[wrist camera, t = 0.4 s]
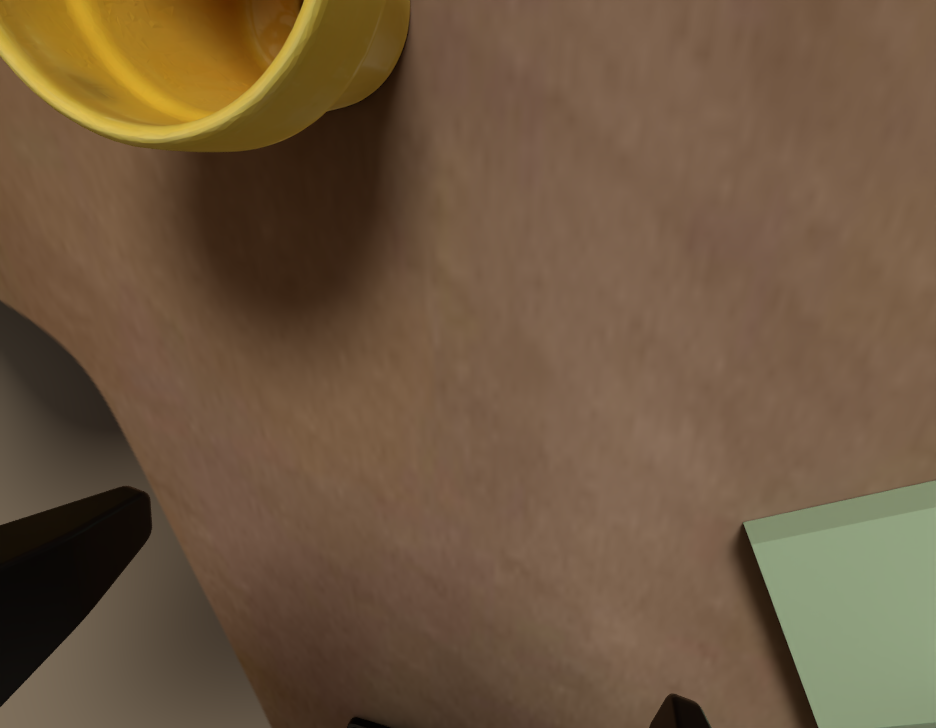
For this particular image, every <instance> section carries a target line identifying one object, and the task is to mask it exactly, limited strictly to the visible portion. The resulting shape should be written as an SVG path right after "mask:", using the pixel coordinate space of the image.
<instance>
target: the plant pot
mask: <svg viewBox="0 0 936 728" xmlns="http://www.w3.org/2000/svg"><path fill="white" fill-rule="evenodd" d="M409 18H410V0H0V57H1V58H2V59H3V60H4V61H5V62H6V64H7V65H8V66H9V67H10V68H11V69H12V70H13V72H14V73H15V74H16V75H17V76H18V77H19V78H20V79H21V80H22V81H23V82H24V83H25V84H26V85H27V86H28V87H29V88H30V89H31V90H32V91H33V92H34V93H36V94H37V95H38V96H39V97H40V98H41V99H43V100H44V101H45V102H46V103H47V104H49V105H50V106H51V107H52V108H54V109H55V110H56V111H58V112H59V113H61V114H62V115H64V116H65V117H67V118H69V119H70V120H72V121H74V122H75V123H77V124H79V125H80V126H82V127H84V128H86V129H88V130H90V131H92V132H94V133H96V134H98V135H100V136H103V137H105V138H108V139H111V140H113V141H116V142H120V143H123V144H127V145H131V146H136V147H143V148H151V149H160V150H171V151H189V152H235V151H247V150H252V149H258V148H262V147H266V146H269V145H272V144H275V143H278V142H281V141H283V140H285V139H288V138H290V137H292V136H294V135H295V134H297V133H299V132H301V131H302V130H304V129H305V128H307V127H308V126H309V125H311V124H312V123H314V122H315V121H316V120H318V119H319V118H320V117H321V116H322V115H323V114H324V113H326V112H327V111H330V110H335V109H339V108H343V107H346V106H349V105H352V104H355V103H357V102H359V101H361V100H363V99H364V98H366V97H367V96H369V95H370V94H372V93H373V92H374V91H376V90H377V89H378V88H379V87H380V86H381V85H382V84H383V83H384V81H385V80H386V79H387V78H388V76H389V75H390V74H391V72H392V70H393V68H394V67H395V65H396V63H397V61H398V59H399V57H400V55H401V52H402V49H403V47H404V43H405V40H406V37H407V32H408V26H409Z"/></svg>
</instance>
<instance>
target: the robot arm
mask: <svg viewBox="0 0 936 728" xmlns="http://www.w3.org/2000/svg"><path fill="white" fill-rule="evenodd" d="M151 530H152V517H151V502H150V497H149V495H148V494H147V493H146V492H144V491H141V490H139V489H136V488H133V487H130V486H122V487H118V488H116V489H112V490H109V491H106V492H103V493H100V494H97V495H93V496H90V497H87V498H84V499H81V500H78V501H74V502H72V503H68V504H65V505H62V506H59V507H56V508H53V509H50V510H46V511H44V512H40V513H37V514H34V515H31V516H28V517H25V518H21V519H19V520H15V521H12V522H9V523H6V524H3V525H0V707H1V706H2V705H3V704H4V703H5V702H6V701H7V700H8V699H9V697H10V696H11V695H12V694H13V693H14V692H15V691H16V690H17V689H18V688H19V687H20V686H21V685H22V684H23V683H24V682H25V681H26V680H27V679H28V678H29V677H30V676H31V675H32V673H33V672H34V671H35V670H36V669H37V668H38V667H39V666H40V665H41V664H42V663H43V662H44V661H45V660H46V659H47V658H48V657H49V656H50V654H52V653H53V651H54V650H55V649H56V648H57V647H58V646H59V645H60V644H61V643H62V642H63V641H64V640H65V639H66V638H67V637H68V636H69V635H70V634H71V633H72V631H73V630H74V629H75V628H76V627H77V626H78V625H79V624H80V623H81V622H82V620H84V618H85V617H86V616H87V615H88V614H89V613H90V611H91V610H92V609H93V608H94V607H95V605H96V604H97V603H98V601H99V600H100V599H101V598H102V597H103V595H104V594H105V593H106V592H107V590H108V589H109V588H110V587H111V585H112V584H113V583H114V582H115V580H116V579H117V578H118V577H119V575H120V574H121V573H122V572H123V570H124V569H125V568H126V567H127V565H128V564H129V563H130V562H131V560H132V559H133V558H134V557H135V555H136V554H137V553H138V552H139V550H140V549H141V548H142V547H143V545H144V544H145V543H146V541H147V540H148V538H149V536H150V534H151ZM347 728H389V727H386V726H383V725H379V724H376V723H373V722H370V721H367V720H363V719H360V718H356V717H355V718H352V719H351V720H350V722H349V724H348V726H347ZM649 728H711V726H710V724H709V722H708V720H707V718H706V716H705V714H704V712H703V710H702V709H701V707H700V706H699V705H698V704H697V703H696V702H694V701H692V700H690V699H687V698H684V697H682V696H679V695H677V694H669V695H668V696H667V697H666V699H665V700H664V702H663V704H662V705H661V707H660V709H659V710H658V712H657V714H656V715H655V717H654V719H653V720H652V722H651V724H650V727H649Z"/></svg>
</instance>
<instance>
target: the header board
mask: <svg viewBox="0 0 936 728" xmlns="http://www.w3.org/2000/svg"><path fill="white" fill-rule="evenodd" d="M743 524H744V526H745V529H746V532H747V535H748V537H749V540H750V543H751V546H752V548H753V551H754V554H755V556H756V559H757V562H758V565H759V567H760V570H761V573H762V576H763V578H764V581H765V584H766V586H767V589H768V592H769V595H770V597H771V600H772V603H773V606H774V608H775V611H776V614H777V616H778V619H779V622H780V625H781V627H782V630H783V633H784V636H785V638H786V641H787V644H788V646H789V649H790V652H791V655H792V657H793V660H794V663H795V666H796V668H797V671H798V674H799V676H800V679H801V682H802V685H803V687H804V690H805V693H806V696H807V698H808V701H809V704H810V706H811V709H812V712H813V715H814V717H815V720H816V723H817V726H818V728H936V480H935V481H931V482H926V483H922V484H917V485H912V486H908V487H903V488H899V489H894V490H890V491H885V492H880V493H876V494H871V495H867V496H862V497H858V498H853V499H848V500H844V501H839V502H835V503H830V504H826V505H821V506H816V507H812V508H807V509H803V510H798V511H794V512H789V513H784V514H780V515H775V516H771V517H766V518H761V519H757V520H752V521H748V522H743Z"/></svg>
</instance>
